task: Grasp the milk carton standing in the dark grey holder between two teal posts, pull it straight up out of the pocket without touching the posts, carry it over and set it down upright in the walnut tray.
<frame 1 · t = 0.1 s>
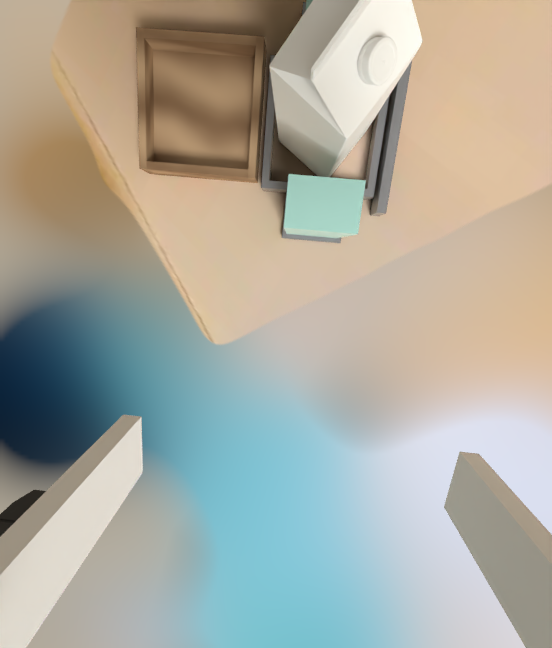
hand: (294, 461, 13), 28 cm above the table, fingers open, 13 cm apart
holder: (322, 135, 34), on the table
milk carton: (322, 136, 34), resting in holder
tray: (205, 116, 34), on the table
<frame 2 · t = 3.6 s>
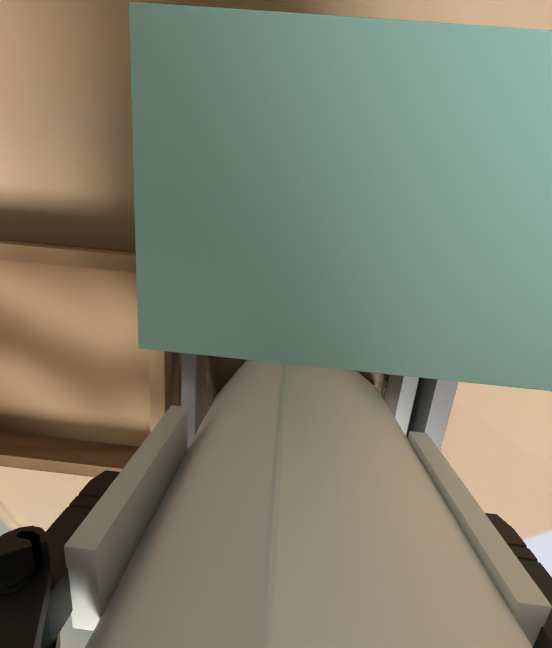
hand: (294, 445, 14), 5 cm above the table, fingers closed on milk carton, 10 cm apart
holder: (293, 391, 19), on the table
milk carton: (293, 390, 19), resting in holder, touching gripper
tray: (78, 354, 19), on the table
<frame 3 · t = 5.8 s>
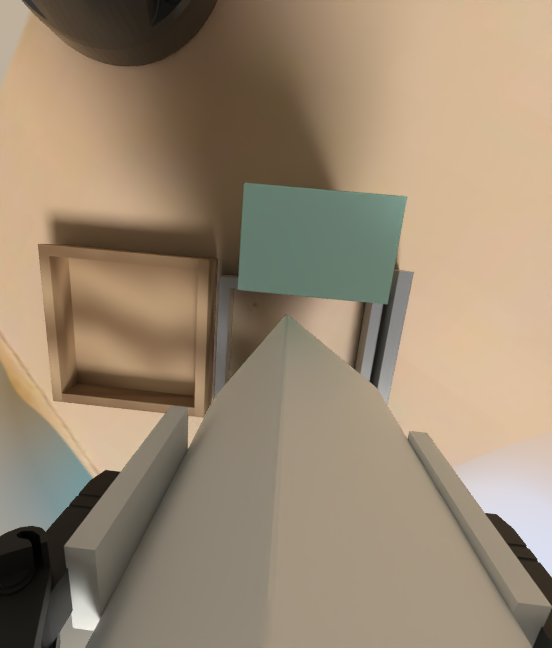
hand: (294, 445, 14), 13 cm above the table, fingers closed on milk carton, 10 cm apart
holder: (293, 353, 26), on the table
milk carton: (293, 390, 19), point 8 cm above the table, touching gripper
tray: (141, 327, 26), on the table
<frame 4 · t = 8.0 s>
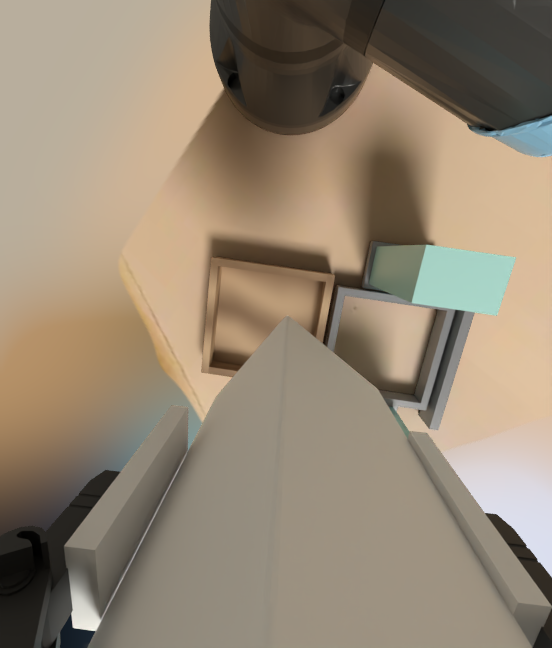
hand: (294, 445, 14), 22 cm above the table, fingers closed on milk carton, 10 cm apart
holder: (379, 345, 35), on the table
milk carton: (294, 391, 19), point 17 cm above the table, touching gripper
tray: (266, 320, 35), on the table
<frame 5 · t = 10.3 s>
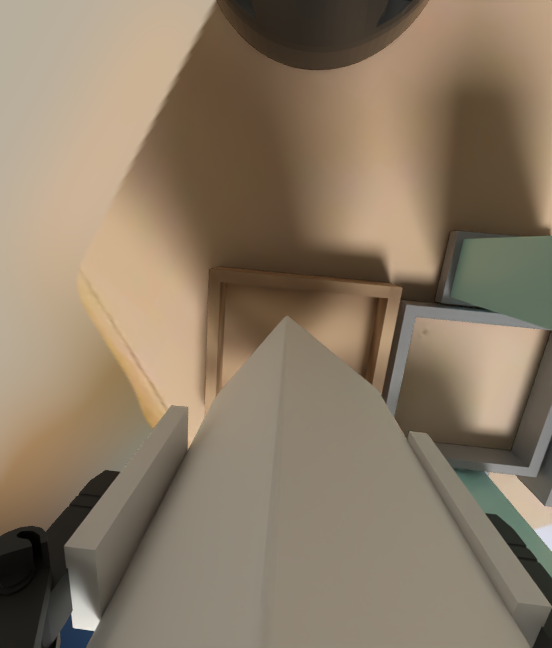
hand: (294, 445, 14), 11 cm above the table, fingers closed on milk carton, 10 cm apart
holder: (460, 384, 24), on the table
milk carton: (293, 391, 19), point 6 cm above the table, touching gripper
tray: (294, 355, 24), on the table
when the fingers open (7 cm above the table, at t = 12.2 s): milk carton stays where it is, resting on tray.
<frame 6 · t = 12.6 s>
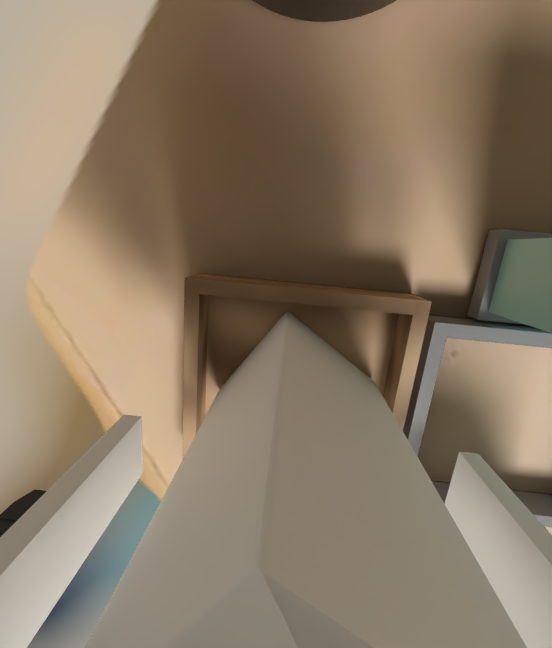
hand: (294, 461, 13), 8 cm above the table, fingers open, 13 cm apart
holder: (496, 416, 20), on the table
milk carton: (294, 384, 20), resting on tray
tray: (293, 381, 20), on the table
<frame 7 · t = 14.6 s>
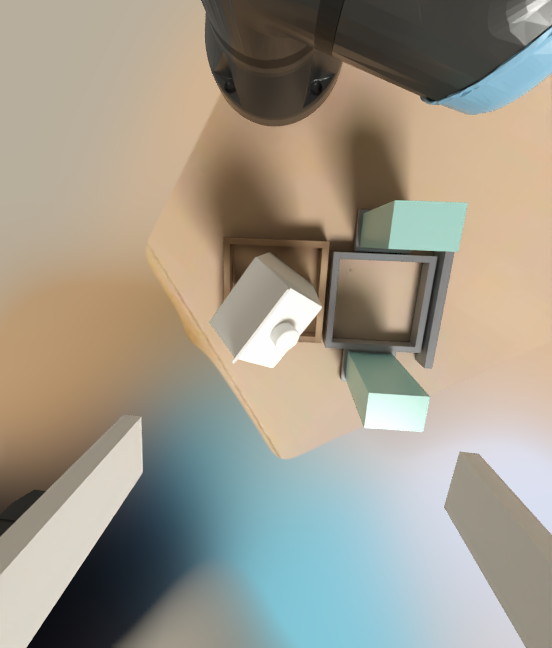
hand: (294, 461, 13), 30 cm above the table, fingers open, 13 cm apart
holder: (374, 301, 41), on the table
milk carton: (275, 289, 41), resting on tray
tray: (275, 289, 41), on the table
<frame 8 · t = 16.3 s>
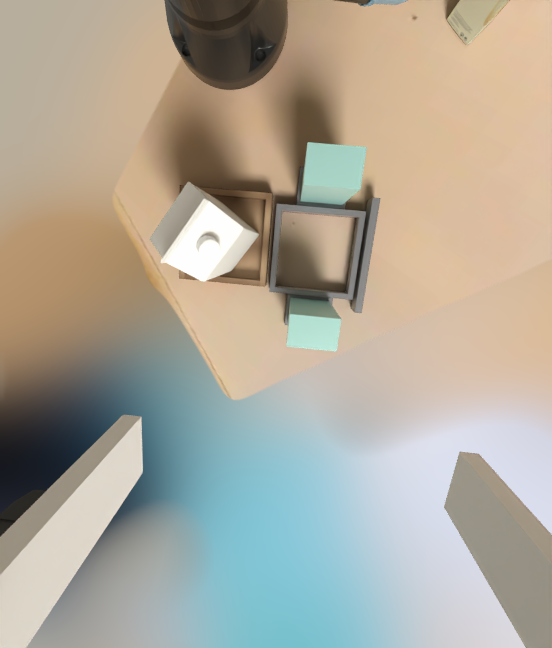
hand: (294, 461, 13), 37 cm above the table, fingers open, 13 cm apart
holder: (314, 252, 46), on the table
milk carton: (227, 237, 46), resting on tray
skincare box: (475, 12, 38), on the table
tray: (227, 238, 46), on the table
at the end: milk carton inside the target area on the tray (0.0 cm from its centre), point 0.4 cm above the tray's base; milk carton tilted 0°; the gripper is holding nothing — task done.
